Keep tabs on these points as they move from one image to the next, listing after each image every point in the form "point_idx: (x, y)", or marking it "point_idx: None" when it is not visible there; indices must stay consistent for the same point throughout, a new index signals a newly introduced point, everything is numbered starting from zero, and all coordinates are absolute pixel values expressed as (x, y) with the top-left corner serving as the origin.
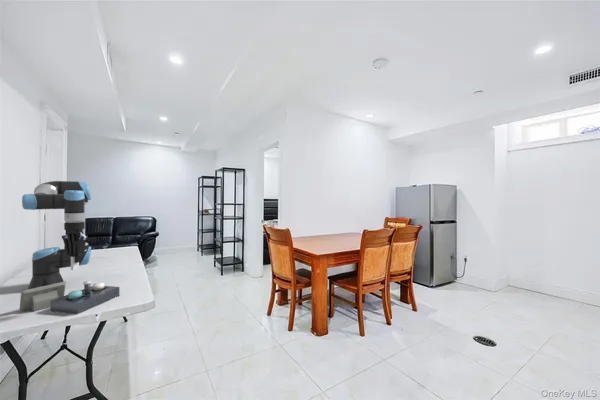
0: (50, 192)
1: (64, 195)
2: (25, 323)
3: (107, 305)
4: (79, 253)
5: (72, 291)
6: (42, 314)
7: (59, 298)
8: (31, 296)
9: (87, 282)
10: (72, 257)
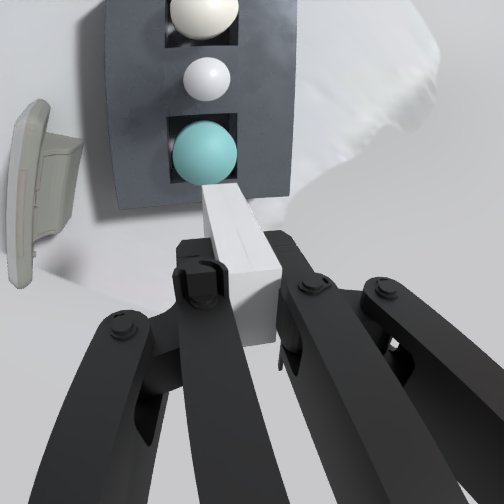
0: None
1: None
2: (164, 277)
3: (321, 88)
4: (391, 348)
5: (173, 150)
6: (132, 220)
7: (126, 177)
8: (32, 245)
9: (222, 90)
10: (259, 336)
